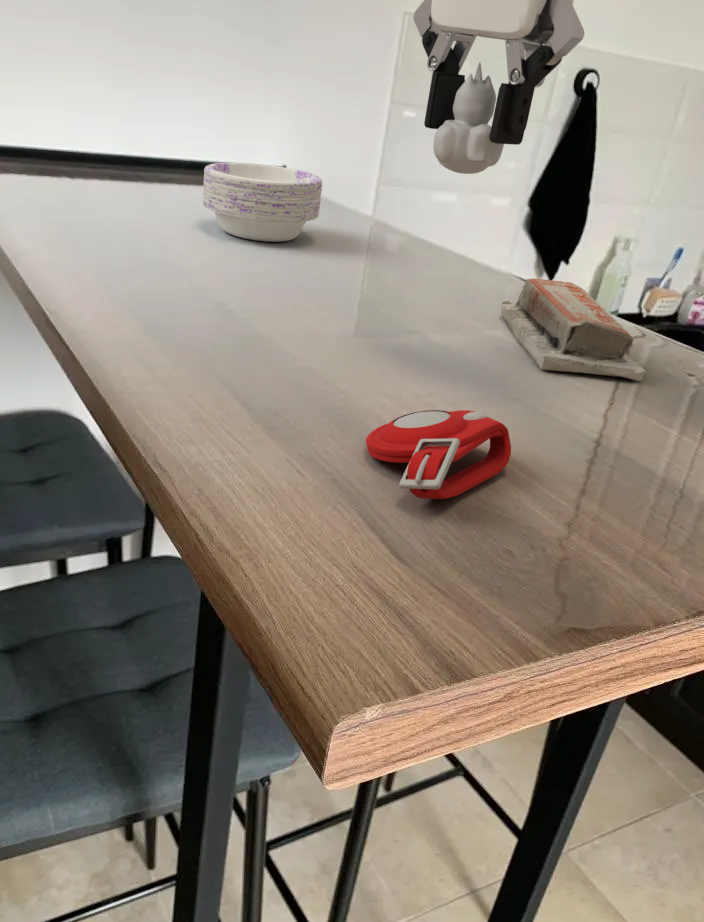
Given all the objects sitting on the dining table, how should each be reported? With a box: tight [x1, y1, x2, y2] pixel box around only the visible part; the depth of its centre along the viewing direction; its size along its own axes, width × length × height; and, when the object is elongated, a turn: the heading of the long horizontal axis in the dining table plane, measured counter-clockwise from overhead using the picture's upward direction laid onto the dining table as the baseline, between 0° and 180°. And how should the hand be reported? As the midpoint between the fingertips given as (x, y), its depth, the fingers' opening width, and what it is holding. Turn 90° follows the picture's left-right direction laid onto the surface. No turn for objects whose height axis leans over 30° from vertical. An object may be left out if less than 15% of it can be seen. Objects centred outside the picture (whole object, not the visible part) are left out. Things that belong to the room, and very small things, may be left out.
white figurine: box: [432, 61, 505, 175], centre depth 67 cm, size 5×7×8 cm
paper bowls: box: [202, 162, 323, 243], centre depth 112 cm, size 15×15×8 cm
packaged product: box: [500, 278, 647, 382], centre depth 86 cm, size 18×5×10 cm
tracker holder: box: [365, 409, 512, 500], centre depth 57 cm, size 12×4×10 cm
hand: (471, 133), depth 67 cm, fingers closed on white figurine, 6 cm apart
